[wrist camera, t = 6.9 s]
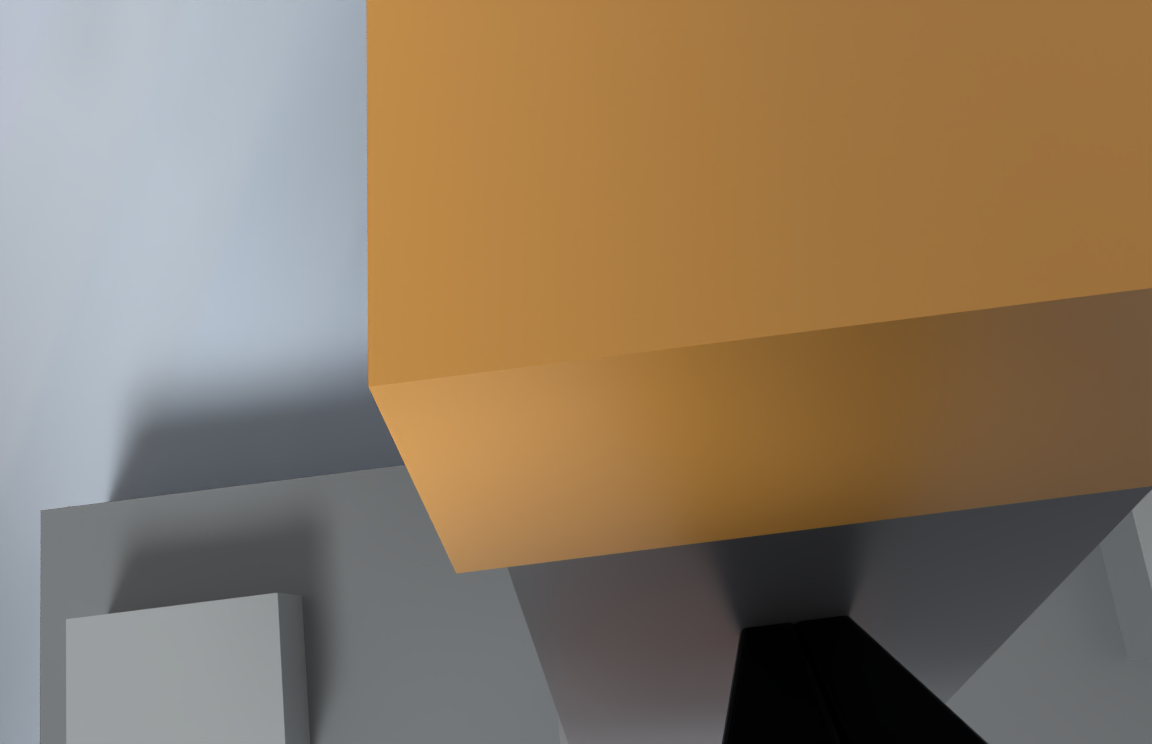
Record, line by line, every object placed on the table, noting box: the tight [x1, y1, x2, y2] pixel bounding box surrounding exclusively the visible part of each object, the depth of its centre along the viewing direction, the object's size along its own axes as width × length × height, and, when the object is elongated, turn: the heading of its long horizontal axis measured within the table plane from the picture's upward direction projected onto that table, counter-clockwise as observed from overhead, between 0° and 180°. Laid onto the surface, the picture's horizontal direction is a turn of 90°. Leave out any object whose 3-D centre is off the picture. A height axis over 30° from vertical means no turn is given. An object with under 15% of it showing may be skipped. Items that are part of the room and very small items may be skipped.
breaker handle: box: [367, 0, 1152, 744], centre depth 10 cm, size 2×4×12 cm, turn 98°
